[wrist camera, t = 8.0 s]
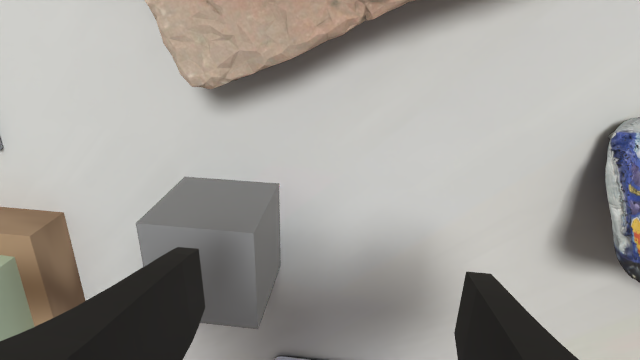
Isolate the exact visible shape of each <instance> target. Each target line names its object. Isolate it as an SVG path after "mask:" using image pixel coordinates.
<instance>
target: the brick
mask: <svg viewBox="0 0 640 360" xmlns="http://www.w3.org/2000/svg"><path fill="white" fill-rule="evenodd" d="M145 1H146V3H147V4H148V6H149V8H150V9H151V11H152V13H153V15H154V17H155V19H156V21H157V24H158V27H159V30H160V33H161V36H162V39H163V43H164V45H165V46H166V47H167V49H168V50H169V52H170V53H171V55H172V57H173V59H174V61H175V63H176V65H177V67H178V70H179V72H180V74H181V75H182V76H183V77H184V78H185V80H186V81H187V82H188V83H189V84H190V85H191V86H192V87H203V88H207V89H213V88H216V87H219V86H222V85H224V84H227V83H229V82H231V81H232V80H237V79H238V78H242V77H245V76H248V75H251V74H254V73H256V72H258V71H260V70H262V69H265V68H268V67H271V66H273V65H276V64H279V63H282V62H284V61H287V60H290V59H292V58H294V57H296V56H298V55H300V54H303V53H305V52H307V51H309V50H310V49H312V48H314V47H316V46H318V45H320V44H322V43H324V42H325V41H327V40H330V39H333V38H336V37H339V36H342V35H343V34H345V33H346V32H348V31H349V30H351V29H352V28H354V27H355V26H357V25H359V24H360V23H362V22H364V21H366V20H373V19H375V18H377V17H379V16H380V15H382V14H384V13H386V12H388V11H391V10H393V9H396V8H398V7H400V6H402V5H404V4H406V3H407V2H410V1H415V0H145Z"/></svg>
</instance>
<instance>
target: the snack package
mask: <svg viewBox="0 0 640 360" xmlns="http://www.w3.org/2000/svg"><path fill="white" fill-rule="evenodd" d="M614 133H616V135H615V136H614V137H613V138H612V136H613V134H614ZM608 138H609V139H610V143H609V146H608V152H607V163H606V168H605V170H606V173H605V176H606V178H605V182H606V190H607V197H608V203H609V209H610V213H611V220H612V230H613V236H614V238H613V239H614V246H615V252H616V255H617V258H618V260H619V262H620V264H621V265H622V267H623V268H624V270H625V271H626V272H627V274H628V275H629V276H631V278H634V279H636V280H637V281H638V282H640V117H638V118H634V119H629V120H627V121H625V122H623V123H622V124H621V125H620V126H619V127H618V128H617V129H616V130H615V132H613V133H611V134H610V135H609V137H608Z"/></svg>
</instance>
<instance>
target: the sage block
mask: <svg viewBox="0 0 640 360" xmlns="http://www.w3.org/2000/svg"><path fill="white" fill-rule="evenodd" d="M33 327H35V326H34V323H33V319H32V316H31V312H30V309H29V305H28V302H27V298H26V295H25V291H24V288H23V284H22V281H21V278H20V274H19V271H18V267H17V264H16V260H15V257H12V256H4V255H0V341H2V340H5V339H7V338H10V337H12V336H15V335H17V334H20V333H22V332H24V331H26V330H29V329H31V328H33Z"/></svg>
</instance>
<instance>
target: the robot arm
mask: <svg viewBox="0 0 640 360" xmlns="http://www.w3.org/2000/svg"><path fill="white" fill-rule="evenodd" d="M204 310H205V299H204V291H203V282H202V273H201V264H200V256H199V249H196V248H185V247H177V248H175V249H173V250H171V251H169V252H167V253H166V254H164V255H162V256H161V257H159V258H157V259H156V260H154V261H153V262H151V263H149V264H148V265H146V266H144V267H143V268H141V269H140V270H138V271H136V272H135V273H133V274H131V275H130V276H128V277H127V278H125V279H123V280H122V281H120V282H118V283H117V284H115V285H113V286H112V287H110V288H108V289H106V290H105V291H103V292H101V293H99V294H97V295H96V296H94V297H92V298H90V299H88V300H87V301H85V302H83V303H81V304H80V305H78V306H76V307H74V308H72V309H70V310H68V311H66V312H64V313H62V314H60V315H58V316H56V317H54V318H52V319H50V320H48V321H46V322H44V323H42V324H39V325H37V326H35V327H33V328H31V329H29V330H26V331H24V332H22V333H20V334H17V335H15V336H12V337H10V338H7V339H5V340H2V341H0V360H183V358H184V356H185V354H186V352H187V350H188V349H189V347H190V345H191V343H192V341H193V339H194V336H195V334H196V331H197V329H198V326H199V324H200V321H201V318H202V316H203V313H204ZM455 340H456V348H457V355H458V360H578V359H577V358H576V357H575V356H574V355H573V354H572V353H571V352H569V351H568V350H567V349H566V348H565V347H564V346H563V345H562V344H560V343H559V342H558V341H557V340H556V339H555V338H554V337H553V336H552V335H551V334H550V333H549V332H548V331H547V330H546V329H545V328H543V327H542V326H541V325H540V324H539V323H538V322H537V321H536V320H535V319H534V318H533V317H532V316H531V315H530V314H529V313H528V312H527V311H526V310H525V309H524V308H523V307H522V306H521V304H520V303H519V302H518V301H517V300H516V299H515V298H514V297H513V296H512V295H511V294H510V293H509V292H508V291H507V290H506V289H505V288H504V287H503V286H502V285H501V284H500V283H499V282H498V281H497V280H496V279H495V278H494V277H493V276H492V275H491V274H486V273H475V272H466V276H465V281H464V286H463V291H462V297H461V302H460V307H459V312H458V317H457V323H456V328H455ZM274 360H309V359H300V358H291V357H282V356H281V357H276V358H275V359H274Z"/></svg>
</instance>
